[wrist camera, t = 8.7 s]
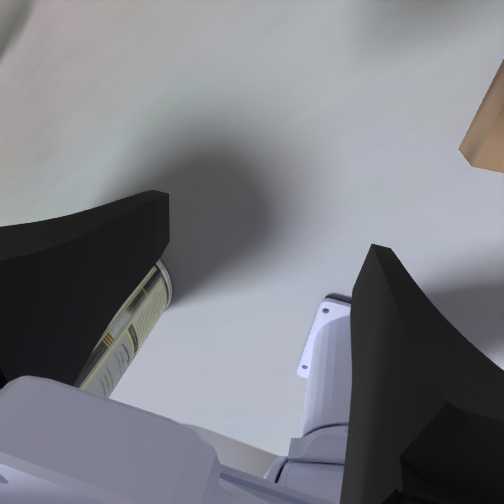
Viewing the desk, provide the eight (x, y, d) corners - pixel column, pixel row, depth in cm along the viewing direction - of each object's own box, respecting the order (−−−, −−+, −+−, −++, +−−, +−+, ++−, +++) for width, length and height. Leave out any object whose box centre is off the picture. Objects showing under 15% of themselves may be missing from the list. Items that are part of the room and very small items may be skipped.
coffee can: (74, 300, 33) (-69, 444, 22) (55, 209, 27) (-156, 345, 16) (173, 331, 32) (75, 500, 21) (176, 244, 26) (40, 416, 15)
